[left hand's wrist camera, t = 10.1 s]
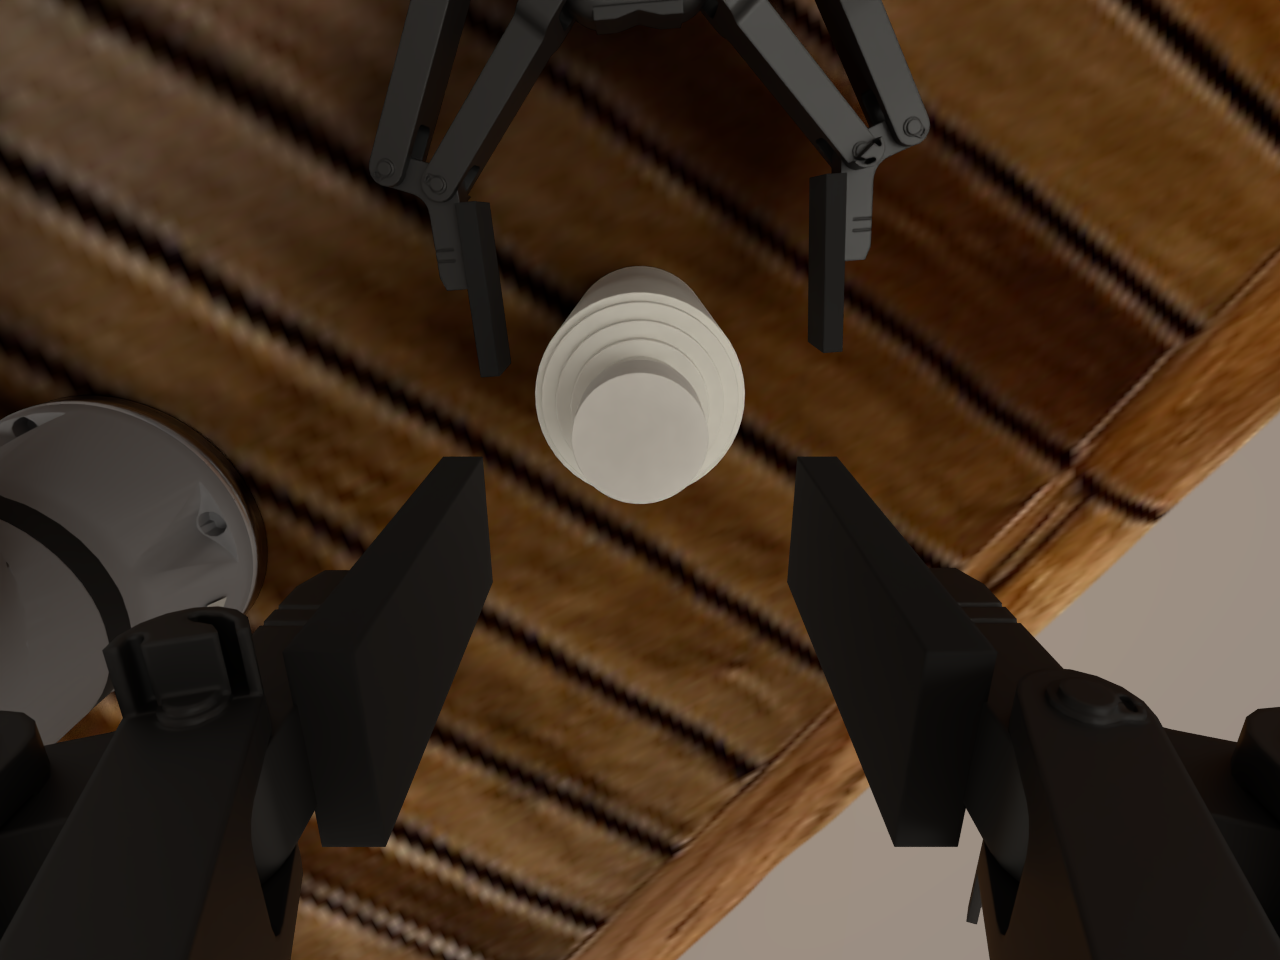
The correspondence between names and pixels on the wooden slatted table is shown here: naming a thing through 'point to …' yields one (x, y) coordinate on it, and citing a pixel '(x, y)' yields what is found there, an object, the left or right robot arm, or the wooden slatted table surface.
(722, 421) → the bottle
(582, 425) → the cap
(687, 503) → the wooden slatted table surface
